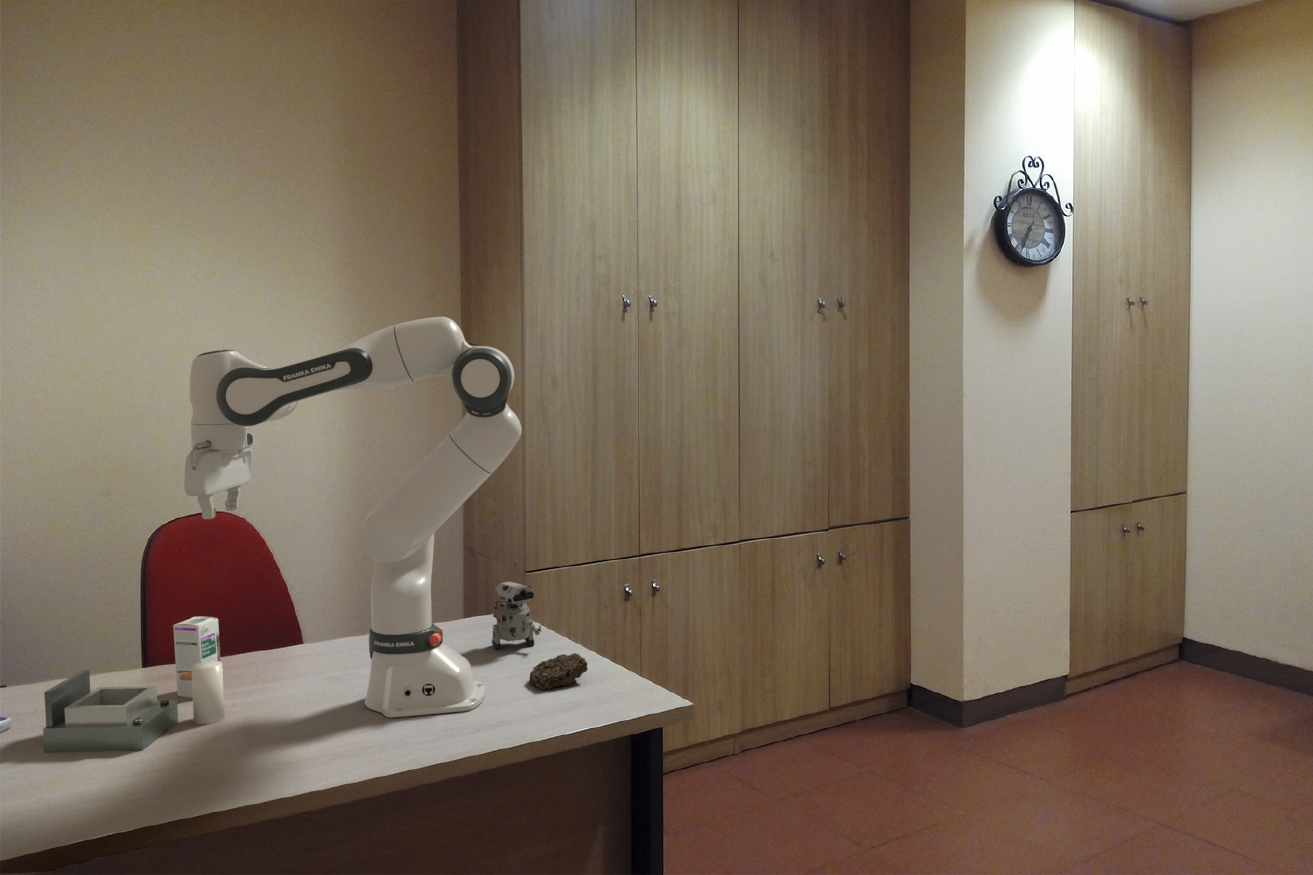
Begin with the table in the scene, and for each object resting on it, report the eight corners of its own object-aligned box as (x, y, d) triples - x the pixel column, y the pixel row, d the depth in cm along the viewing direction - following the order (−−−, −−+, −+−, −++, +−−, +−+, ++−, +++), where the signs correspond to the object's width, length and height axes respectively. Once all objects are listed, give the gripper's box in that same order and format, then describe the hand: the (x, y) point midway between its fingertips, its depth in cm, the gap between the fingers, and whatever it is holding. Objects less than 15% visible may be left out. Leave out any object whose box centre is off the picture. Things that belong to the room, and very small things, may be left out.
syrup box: (202, 698, 173) (199, 624, 172) (175, 696, 174) (172, 623, 173) (222, 688, 179) (219, 616, 178) (196, 686, 180) (193, 615, 179)
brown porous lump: (577, 670, 189) (577, 647, 189) (591, 686, 180) (591, 661, 180) (523, 677, 185) (523, 653, 185) (535, 693, 176) (535, 668, 175)
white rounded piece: (229, 713, 166) (227, 660, 165) (217, 724, 161) (214, 669, 160) (187, 714, 165) (185, 661, 164) (174, 725, 160) (172, 670, 159)
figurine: (501, 658, 197) (500, 591, 196) (490, 643, 208) (489, 579, 207) (541, 653, 201) (541, 587, 199) (529, 639, 211) (528, 576, 210)
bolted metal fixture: (178, 721, 162) (175, 667, 161) (143, 749, 150) (140, 691, 149) (86, 723, 161) (84, 669, 160) (44, 751, 149) (41, 693, 148)
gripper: (210, 443, 154) (212, 523, 155) (258, 435, 174) (260, 506, 175) (172, 443, 154) (175, 523, 155) (224, 435, 174) (227, 506, 175)
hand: (220, 514), depth 165 cm, fingers open, 8 cm apart
